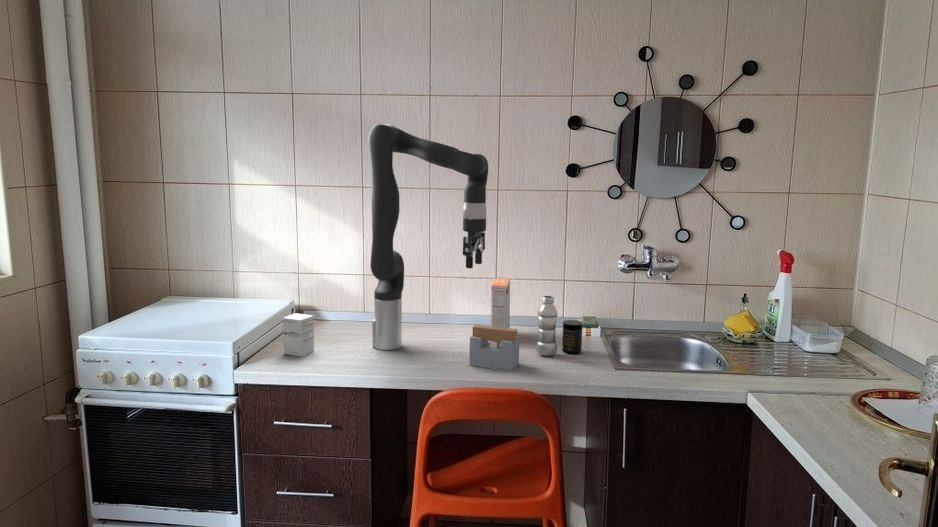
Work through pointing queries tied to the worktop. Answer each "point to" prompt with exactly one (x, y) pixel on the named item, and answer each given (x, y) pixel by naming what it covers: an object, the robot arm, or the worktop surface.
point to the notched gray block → (494, 354)
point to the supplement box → (298, 334)
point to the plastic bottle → (547, 327)
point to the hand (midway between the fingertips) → (473, 266)
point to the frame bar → (495, 333)
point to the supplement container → (572, 337)
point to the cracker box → (500, 303)
